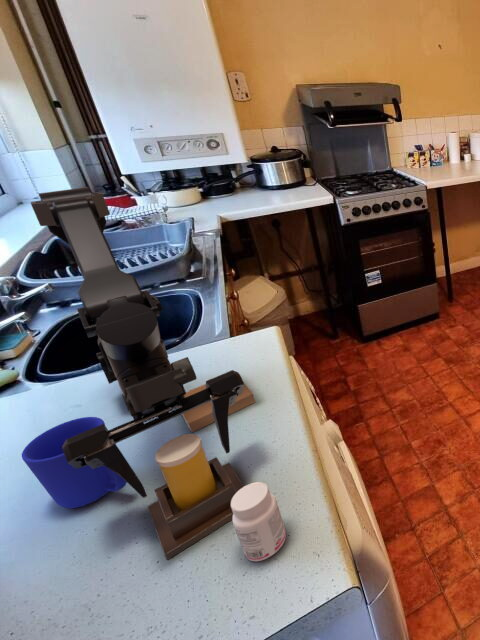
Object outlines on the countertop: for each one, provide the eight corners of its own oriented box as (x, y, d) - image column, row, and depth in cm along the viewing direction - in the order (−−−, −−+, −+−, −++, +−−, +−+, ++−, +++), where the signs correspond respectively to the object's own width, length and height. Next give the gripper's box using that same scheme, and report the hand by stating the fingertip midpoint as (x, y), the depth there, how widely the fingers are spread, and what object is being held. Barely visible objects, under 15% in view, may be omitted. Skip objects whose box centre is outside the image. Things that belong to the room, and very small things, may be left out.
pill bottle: (276, 519, 59) (262, 472, 55) (293, 540, 56) (279, 492, 53) (238, 546, 55) (220, 498, 52) (253, 571, 52) (236, 521, 49)
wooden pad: (176, 406, 80) (173, 397, 79) (237, 380, 87) (234, 371, 86) (191, 432, 74) (188, 423, 73) (255, 402, 81) (252, 393, 80)
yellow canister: (172, 499, 59) (151, 448, 56) (212, 477, 63) (194, 428, 59) (181, 521, 56) (159, 469, 53) (223, 496, 60) (205, 446, 56)
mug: (105, 526, 58) (76, 470, 54) (36, 511, 60) (3, 456, 57) (162, 475, 66) (140, 423, 62) (99, 464, 68) (74, 412, 64)
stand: (149, 511, 60) (140, 490, 59) (230, 466, 67) (223, 446, 65) (167, 560, 54) (156, 538, 52) (254, 505, 61) (247, 484, 59)
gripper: (30, 386, 48) (80, 518, 45) (222, 320, 61) (271, 420, 58) (54, 411, 56) (98, 525, 53) (219, 348, 68) (262, 437, 65)
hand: (188, 473), depth 57 cm, fingers open, 9 cm apart
